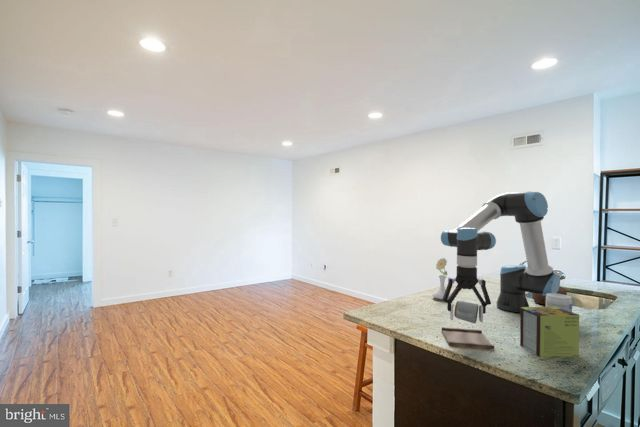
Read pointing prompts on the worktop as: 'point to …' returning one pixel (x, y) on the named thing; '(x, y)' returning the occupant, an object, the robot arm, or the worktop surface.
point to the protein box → (549, 331)
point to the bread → (542, 299)
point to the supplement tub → (559, 301)
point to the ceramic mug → (466, 311)
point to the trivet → (466, 338)
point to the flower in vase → (441, 279)
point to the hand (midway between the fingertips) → (466, 320)
